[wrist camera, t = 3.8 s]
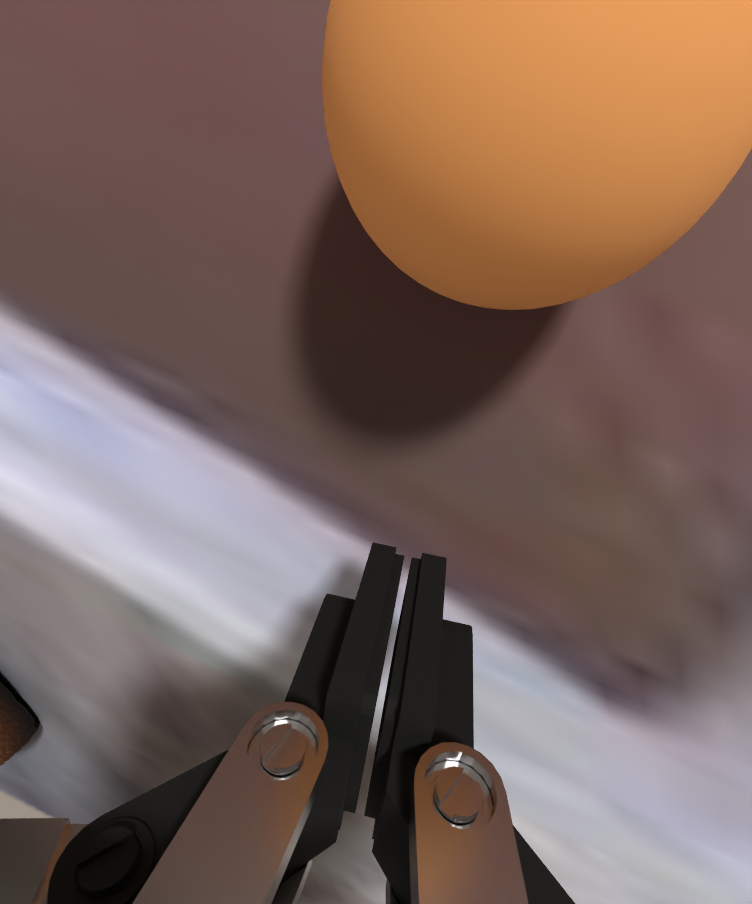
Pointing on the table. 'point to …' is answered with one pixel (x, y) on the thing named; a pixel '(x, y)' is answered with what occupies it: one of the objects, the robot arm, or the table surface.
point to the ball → (534, 135)
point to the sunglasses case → (13, 725)
